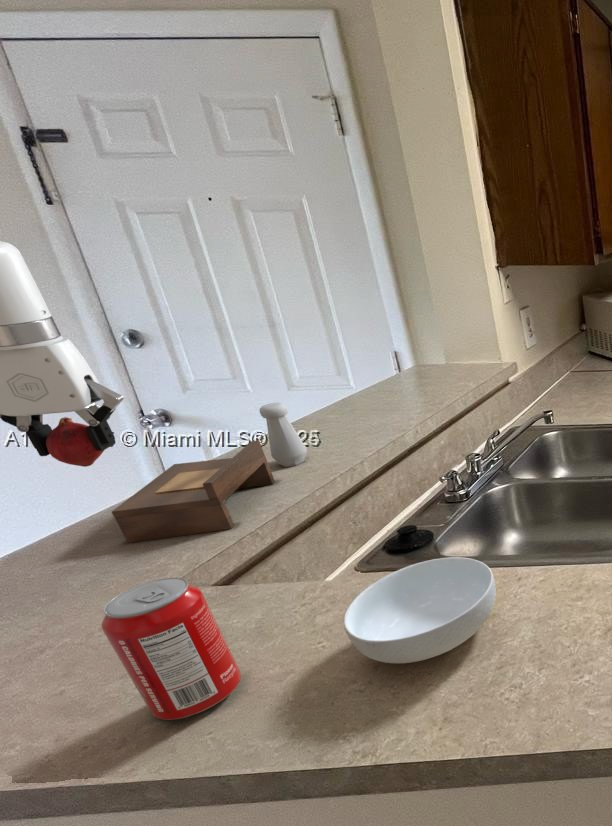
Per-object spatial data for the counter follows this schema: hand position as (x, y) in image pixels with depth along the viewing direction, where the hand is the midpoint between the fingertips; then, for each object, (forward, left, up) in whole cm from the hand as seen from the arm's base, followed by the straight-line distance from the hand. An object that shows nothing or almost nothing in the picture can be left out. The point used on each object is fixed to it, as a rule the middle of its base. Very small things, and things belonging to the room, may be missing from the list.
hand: (78, 448), depth 93 cm
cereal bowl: (+51, -39, -18) cm, 67 cm away
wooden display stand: (+6, +10, -17) cm, 21 cm away
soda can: (+27, -42, -18) cm, 53 cm away
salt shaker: (+13, +28, -18) cm, 36 cm away
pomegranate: (0, 0, -3) cm, 3 cm away
